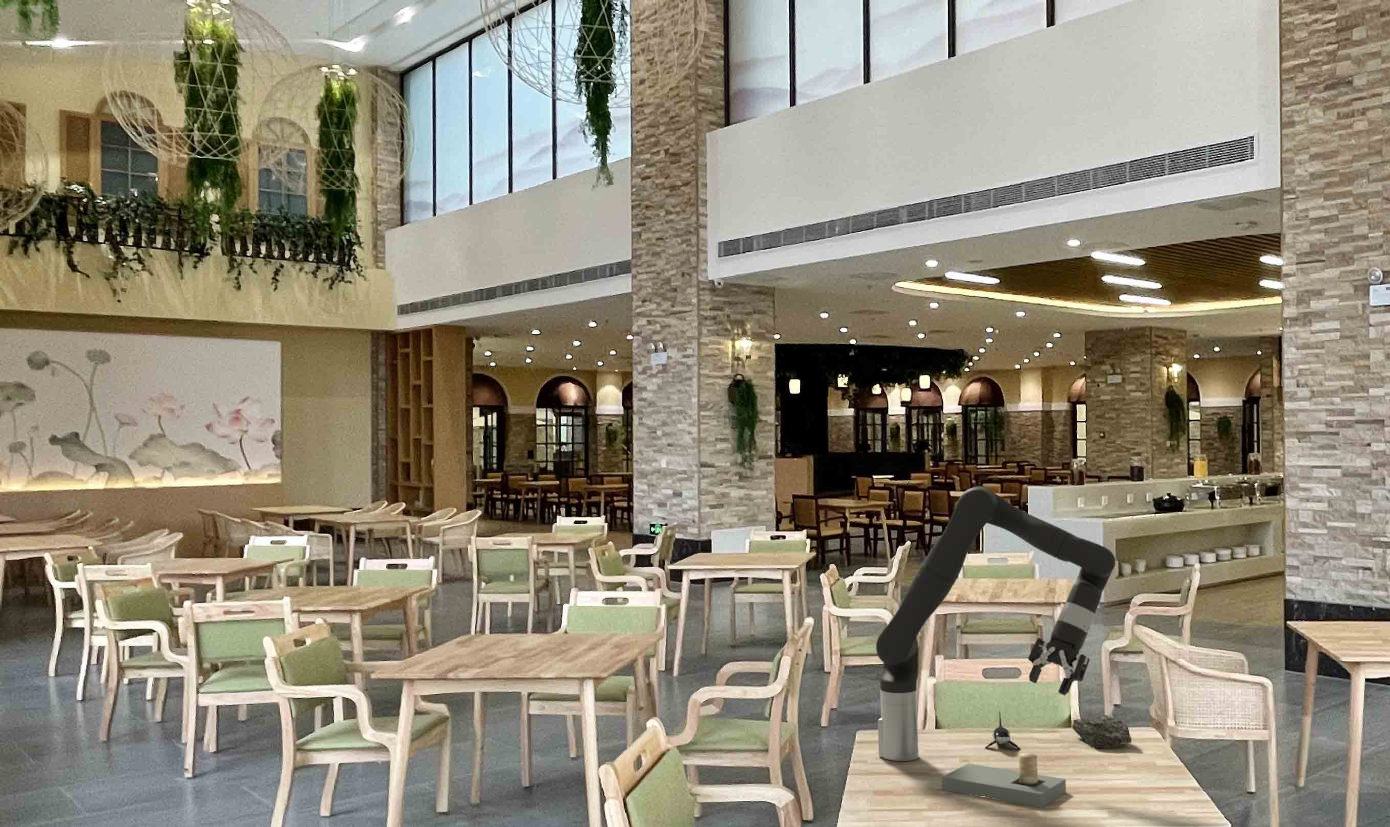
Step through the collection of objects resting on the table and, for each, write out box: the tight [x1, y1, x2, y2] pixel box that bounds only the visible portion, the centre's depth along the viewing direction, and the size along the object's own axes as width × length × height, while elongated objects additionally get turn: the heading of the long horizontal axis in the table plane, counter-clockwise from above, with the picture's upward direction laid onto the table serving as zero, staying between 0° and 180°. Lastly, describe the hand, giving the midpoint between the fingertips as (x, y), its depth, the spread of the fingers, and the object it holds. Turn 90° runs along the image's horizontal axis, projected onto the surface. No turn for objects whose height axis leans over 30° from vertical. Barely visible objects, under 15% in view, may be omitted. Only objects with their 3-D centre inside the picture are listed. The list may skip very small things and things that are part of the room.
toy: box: [984, 710, 1021, 750], centre depth 317 cm, size 21×10×10 cm, turn 170°
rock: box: [1072, 714, 1132, 750], centre depth 315 cm, size 12×16×6 cm
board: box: [941, 762, 1067, 809], centre depth 274 cm, size 24×14×3 cm, turn 51°
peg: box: [1018, 752, 1039, 787], centre depth 270 cm, size 4×4×9 cm
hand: (1046, 688), depth 282 cm, fingers open, 8 cm apart
